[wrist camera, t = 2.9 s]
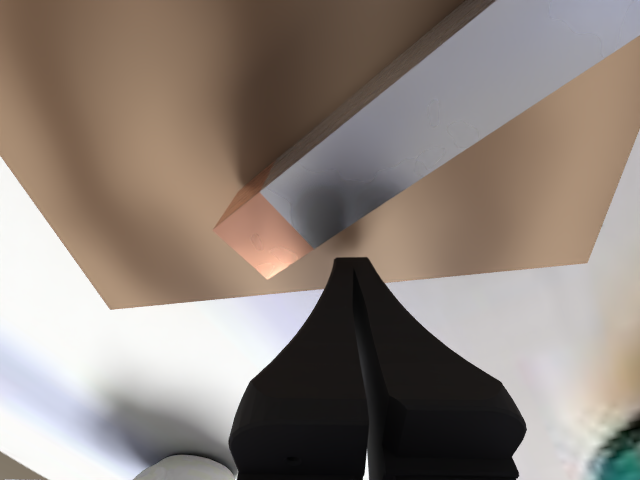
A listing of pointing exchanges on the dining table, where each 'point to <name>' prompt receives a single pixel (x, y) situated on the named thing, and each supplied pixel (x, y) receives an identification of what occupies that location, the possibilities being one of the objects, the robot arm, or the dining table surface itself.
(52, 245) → the dining table surface
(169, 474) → the teacup
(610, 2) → the tong arm
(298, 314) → the dining table surface
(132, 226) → the board
